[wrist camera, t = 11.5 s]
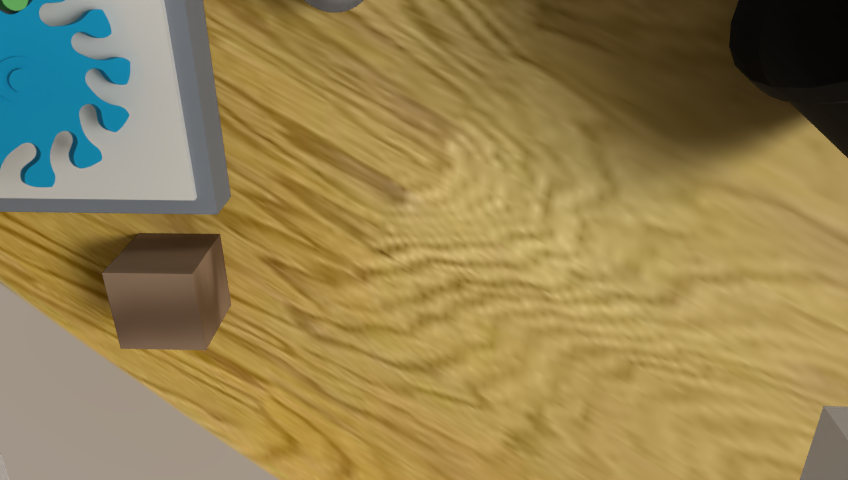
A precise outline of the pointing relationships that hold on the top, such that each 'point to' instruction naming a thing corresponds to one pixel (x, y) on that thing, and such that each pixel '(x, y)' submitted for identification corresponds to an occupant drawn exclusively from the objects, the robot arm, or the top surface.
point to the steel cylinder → (334, 5)
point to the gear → (51, 86)
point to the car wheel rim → (798, 57)
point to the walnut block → (168, 291)
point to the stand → (136, 119)
